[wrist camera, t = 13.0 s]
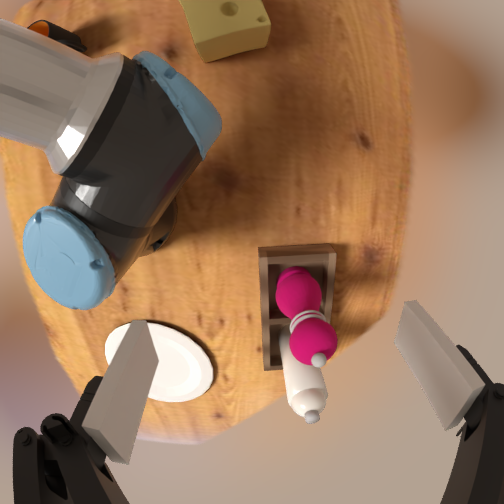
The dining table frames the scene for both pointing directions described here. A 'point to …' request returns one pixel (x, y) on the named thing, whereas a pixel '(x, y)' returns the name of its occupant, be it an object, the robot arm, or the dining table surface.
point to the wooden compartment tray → (270, 266)
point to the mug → (58, 34)
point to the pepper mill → (305, 317)
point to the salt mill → (302, 382)
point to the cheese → (226, 26)
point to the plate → (171, 363)
